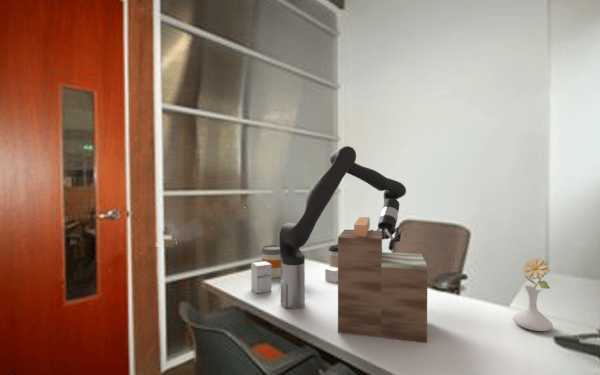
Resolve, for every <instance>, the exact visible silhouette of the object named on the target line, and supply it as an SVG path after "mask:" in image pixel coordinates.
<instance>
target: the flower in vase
mask: <svg viewBox="0 0 600 375" xmlns="http://www.w3.org/2000/svg"><path fill="white" fill-rule="evenodd" d="M522 267H523V268H522V271H523V275H525V278H526V279H527V280H528V281H529V282H531V283H532V284H534V285H530V284H529V285H524V286H523V288H525V290H526V292H527V295H528V296H527V297H528V305H527V307H526V309H524V310H522V311H520V312H517V313H516V314H514V315H513V317H512V320H513V322H514V323H515V324H516V325H518V326H519V327H521V328H524V329H526V330H531V331H536V332H548V331H550V330H552V329H553V328H554V326H553V323H552V321H550V319H549V318H547V316H546V315H544V314H542V313H541V312H540V311H539V309H538V307H537V306H538V305H537V300H538V296H539V293H540V292H541V291H542V289H547V290H548V289H550V286H549V284H548V283H547V281H546V280H541V279H542V278H544V277H545V276H546V275H547V273H548V272H549V271H550V269H549V263H548V261H546V260H544V258H542V257H540V256H539V257H535V256H534V257H532V258H529V259H527V260H525V263H524V264H523V266H522ZM536 279H538V282H535V281H534V280H536ZM538 285H539V286H538Z"/></svg>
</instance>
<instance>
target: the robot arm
mask: <svg viewBox="0 0 600 375" xmlns="http://www.w3.org/2000/svg"><path fill="white" fill-rule="evenodd" d="M356 159H357V153H356V151H355V148H353V147H351V146H349V145H348V146H347V145H346V146H342V147H339V148H338V149H336V150H334V151H333V152H331V154H330V156H329V161H330V164H331V165H330V167H329V168H328V169H327V170H326V171H325V172H324V173H323V174H322V175H321V176H320V177H319V178H318V180H316V181H315V183H314V184H313V186H312V187H311V189H310V190H309V192H308V194H307V197H306V201H305V208H304V209H305V210H304V212H303V214H302V215H301V217H300V218H299V220H298V222H297V223H293V222H287V223H284V224H283V225H282V227H281V228H280V231H279V245H280V255H281V258H282V280H281V279H280V305H282V306H283V307H284V308H285V309H298V308H299V309H300V308H302V307H303V306H305V304H306V302H305V300H306V297H305V296H306V290H305V289H306V288H305V287H306V286H305V284H306V281H305V277H306V276H305V275H306V274H305V273H306V272H305V268H306V266H305V264H306V263H305V262H306V259H305V255H304V254H303V253H302V250H300V248H302V247H303V246H304V245H306V243H307V242H308V241H309V238H310V237H311V235H312V233H313V230H314V228H315V226H316V224H317V222H318V220H319V219H320V217H321V215H323V214H322V213H323V211H325V208H326V207H327V205H328V204H329V202H330V201H331V199H332V197H334V195H335V194H334V193H336V190H337V189H338V187H339V185H340V184H341V182H342V180H343V179H344V177H345V175H346V174H349V175H350V176H353V177H355V178H357V179H359V180H361V181H363V182H364V183H366V184H368V185H369V186H371V187H373V188H374V189H376V190H377V191H379V192H382V191H383V206H382V210H381V213H380V214H379V219H378V224H377V229H376V230H375V231H382V240H388V239H390V240H389V243H388V250H389V251H393V250H394V248H395V245H396V243H398V242H400V241H401V236H402V230H401V229H400V227H399V226H397V223H398V222H397V221H398V217H399V211H400V201H398V199H401V198H403V197H404V196H406V193H407V188H406V187H405V185H404V184H403V183H402V182H400V181H398V180H395V179H391V178H389V177H386V176H384V175H383V174H381V173H380V172H379V171H376V170H375V169H372V168H369V167H367V166H366V167H365V166H363V165H360V164H358V163H356V161H357V160H356ZM396 226H397V227H396ZM370 230H371V231H374V229H370ZM393 235H394V236H393Z"/></svg>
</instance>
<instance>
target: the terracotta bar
mask: <svg viewBox="0 0 600 375" xmlns="http://www.w3.org/2000/svg"><path fill="white" fill-rule="evenodd" d="M370 218H371V217H369V216H368V217H367V216H366V217H365V216H359V217H358V219H357V220H356V221H355V223H354V224H353V230H354V236H355V237H366V236H367V233H368V230H370V224H371V223H370V221H371V219H370Z"/></svg>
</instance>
